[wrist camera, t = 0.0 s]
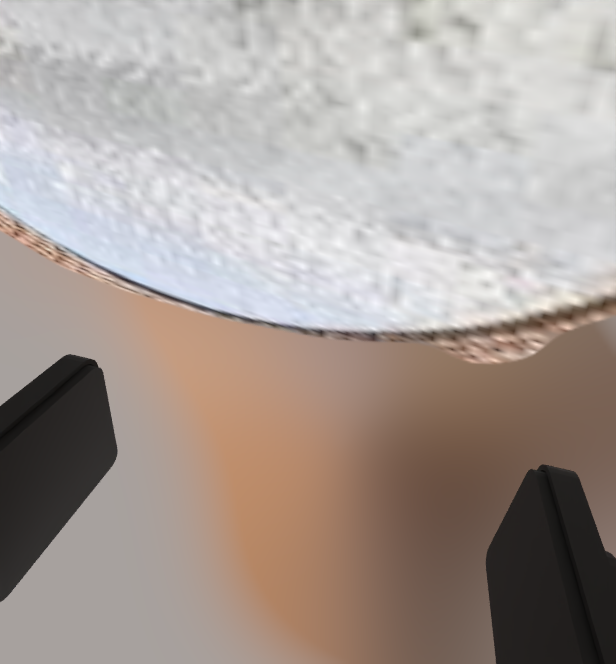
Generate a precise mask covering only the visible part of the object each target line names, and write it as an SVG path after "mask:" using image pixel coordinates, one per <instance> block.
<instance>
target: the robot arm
mask: <svg viewBox="0 0 616 664" xmlns="http://www.w3.org/2000/svg"><path fill="white" fill-rule="evenodd" d="M116 457H117V445H116V440H115V434H114V429H113V424H112V418H111V412H110V407H109V402H108V396H107V391H106V386H105V380H104V375H103V371H102V369H101V368H99V367H98V365H97V362H96V361H95V360H92V359H88V358H84V357H80V356H76V355H71V354H69V355H66V356H64V357H62V358H61V359H60V360H58V361H57V362H56V363H55V364H53V365H52V366H51V367H50V368H48V369H47V370H46V371H44V372H43V373H42V374H41V375H39V376H38V377H37V378H36V379H34V380H33V381H32V382H31V383H29V384H28V385H27V386H25V387H24V388H23V389H22V390H20V391H19V392H18V393H16V394H15V395H14V396H13V397H11V398H10V399H9V400H8V401H6V402H5V403H4V404H2V405H1V406H0V602H1V601H3V600H4V599H5V598H6V597H7V596H8V595H9V594H10V593H11V592H12V590H13V589H14V588H15V587H16V585H17V584H18V583H19V582H20V580H21V579H22V578H23V576H24V575H25V574H26V573H27V572H28V570H29V569H30V568H31V566H32V565H33V564H34V563H35V562H36V560H37V559H38V558H39V557H40V555H41V554H42V553H43V552H44V550H45V549H46V548H47V547H48V545H49V544H50V543H51V542H52V540H53V539H54V538H55V537H56V535H57V534H58V533H59V532H60V530H61V529H62V528H63V527H64V525H65V524H66V523H67V522H68V520H69V519H70V518H71V517H72V515H73V514H74V513H75V512H76V510H77V509H78V508H79V507H80V506H81V504H82V503H83V502H84V500H85V499H86V498H87V497H88V495H89V494H90V493H91V492H92V491H93V489H94V488H95V487H96V486H97V484H98V483H99V482H100V480H101V479H102V478H103V477H104V475H105V474H106V473H107V472H108V471H109V469H110V468H111V467H112V465H113V464H114V462H115V460H116ZM486 571H487V580H488V590H489V600H490V609H491V617H492V627H493V637H494V646H495V656H496V664H616V558H615V557H614V556H613V555H612V554H611V553H609V552H607V551H605V550H604V547H603V544H602V541H601V538H600V536H599V533H598V530H597V527H596V524H595V521H594V519H593V516H592V513H591V510H590V508H589V505H588V502H587V499H586V496H585V493H584V491H583V488H582V485H581V482H580V479H579V477H578V475H577V474H576V473H575V472H574V471H570V470H566V469H561V468H557V467H553V466H549V465H541V466H539V468H538V469H537V470H533V469H530V470H529V471H528V472H527V474H526V476H525V478H524V480H523V482H522V484H521V486H520V487H519V489H518V491H517V493H516V495H515V497H514V499H513V501H512V503H511V505H510V507H509V509H508V511H507V513H506V515H505V517H504V519H503V521H502V523H501V525H500V527H499V529H498V531H497V532H496V534H495V536H494V538H493V541H492V542H491V544H490V546H489V549H488V551H487V557H486Z"/></svg>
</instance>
